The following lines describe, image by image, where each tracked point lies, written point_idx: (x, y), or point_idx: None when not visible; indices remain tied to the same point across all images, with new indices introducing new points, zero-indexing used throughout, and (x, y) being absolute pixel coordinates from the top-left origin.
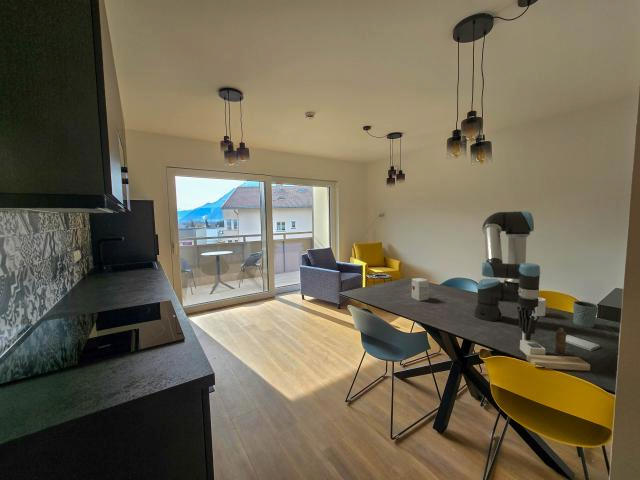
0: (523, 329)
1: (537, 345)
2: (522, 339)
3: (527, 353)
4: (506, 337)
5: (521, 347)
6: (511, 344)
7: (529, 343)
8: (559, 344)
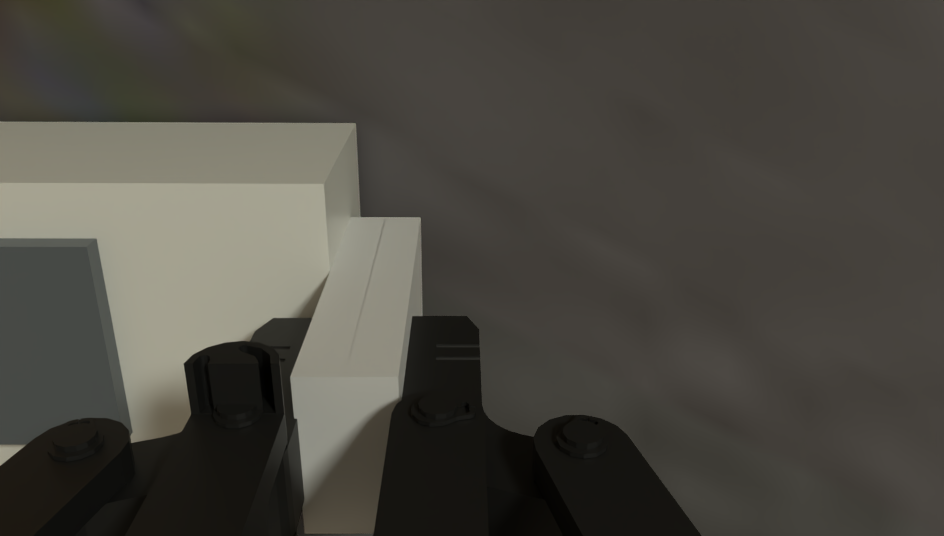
0: (392, 440)
1: (21, 402)
2: (399, 265)
3: (54, 134)
4: (919, 132)
5: (285, 140)
6: (584, 69)
7: (89, 286)
8: None
